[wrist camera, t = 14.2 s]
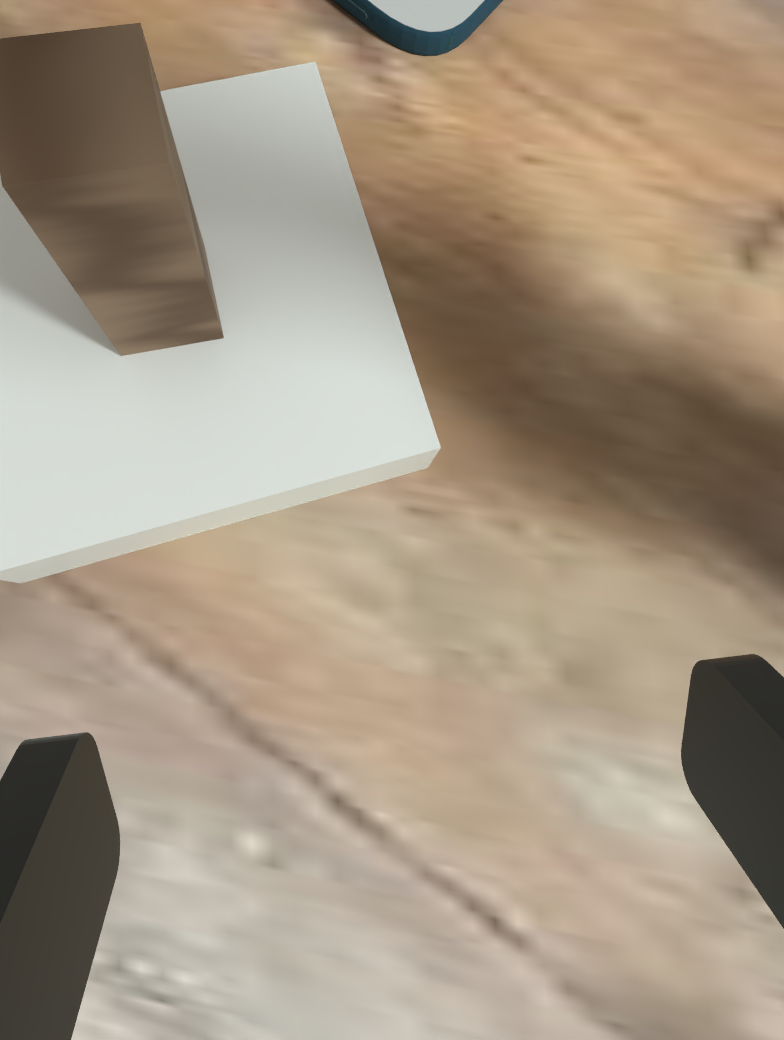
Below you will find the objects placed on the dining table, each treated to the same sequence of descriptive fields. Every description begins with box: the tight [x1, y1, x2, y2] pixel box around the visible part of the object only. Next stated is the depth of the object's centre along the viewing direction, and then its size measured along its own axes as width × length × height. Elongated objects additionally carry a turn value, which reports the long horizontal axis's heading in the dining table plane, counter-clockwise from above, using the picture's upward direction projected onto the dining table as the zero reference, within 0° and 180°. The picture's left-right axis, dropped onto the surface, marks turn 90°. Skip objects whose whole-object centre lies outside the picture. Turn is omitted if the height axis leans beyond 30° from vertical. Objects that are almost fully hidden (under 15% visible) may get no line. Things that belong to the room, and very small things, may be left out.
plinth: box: [0, 62, 441, 583], centre depth 34 cm, size 20×20×4 cm
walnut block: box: [0, 23, 224, 356], centre depth 26 cm, size 4×4×12 cm
